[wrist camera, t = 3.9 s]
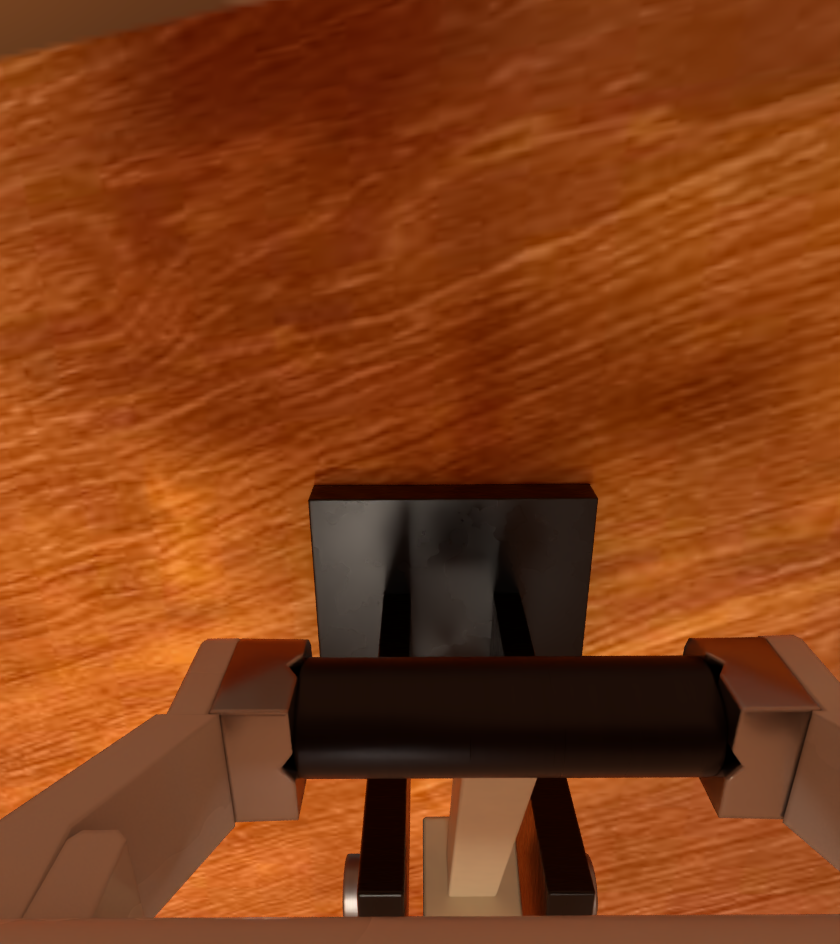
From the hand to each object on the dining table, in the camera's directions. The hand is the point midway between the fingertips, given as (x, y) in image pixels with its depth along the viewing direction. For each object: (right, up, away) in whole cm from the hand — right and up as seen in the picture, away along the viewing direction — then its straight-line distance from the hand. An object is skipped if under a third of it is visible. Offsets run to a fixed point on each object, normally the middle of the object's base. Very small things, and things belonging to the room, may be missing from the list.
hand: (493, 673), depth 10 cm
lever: (0, -3, +4) cm, 5 cm away
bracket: (0, -3, +17) cm, 17 cm away
